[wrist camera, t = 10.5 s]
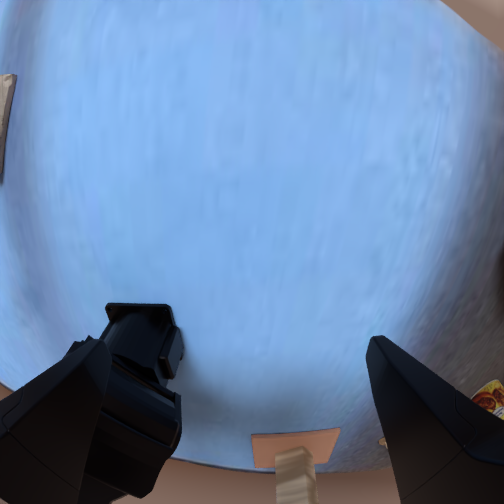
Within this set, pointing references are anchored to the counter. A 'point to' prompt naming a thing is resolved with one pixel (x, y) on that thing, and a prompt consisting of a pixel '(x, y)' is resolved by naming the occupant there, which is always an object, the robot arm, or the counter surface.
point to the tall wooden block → (295, 477)
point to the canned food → (491, 398)
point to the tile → (293, 445)
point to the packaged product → (5, 108)
